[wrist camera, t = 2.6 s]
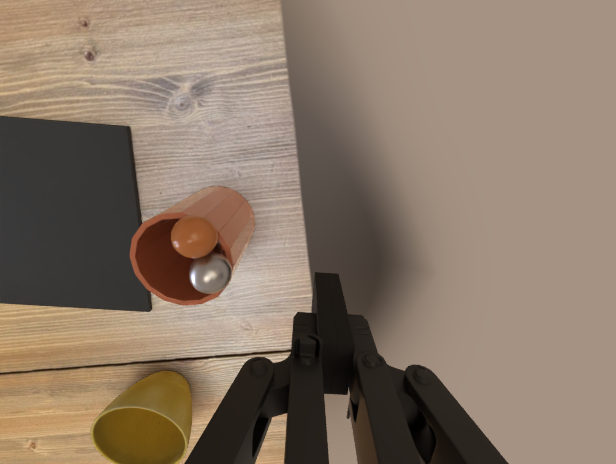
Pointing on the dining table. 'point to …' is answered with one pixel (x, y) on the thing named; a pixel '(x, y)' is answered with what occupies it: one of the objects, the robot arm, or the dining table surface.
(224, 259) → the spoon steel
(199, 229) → the brown piece
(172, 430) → the flower pot
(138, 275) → the spoon cup
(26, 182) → the mat
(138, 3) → the dining table surface
